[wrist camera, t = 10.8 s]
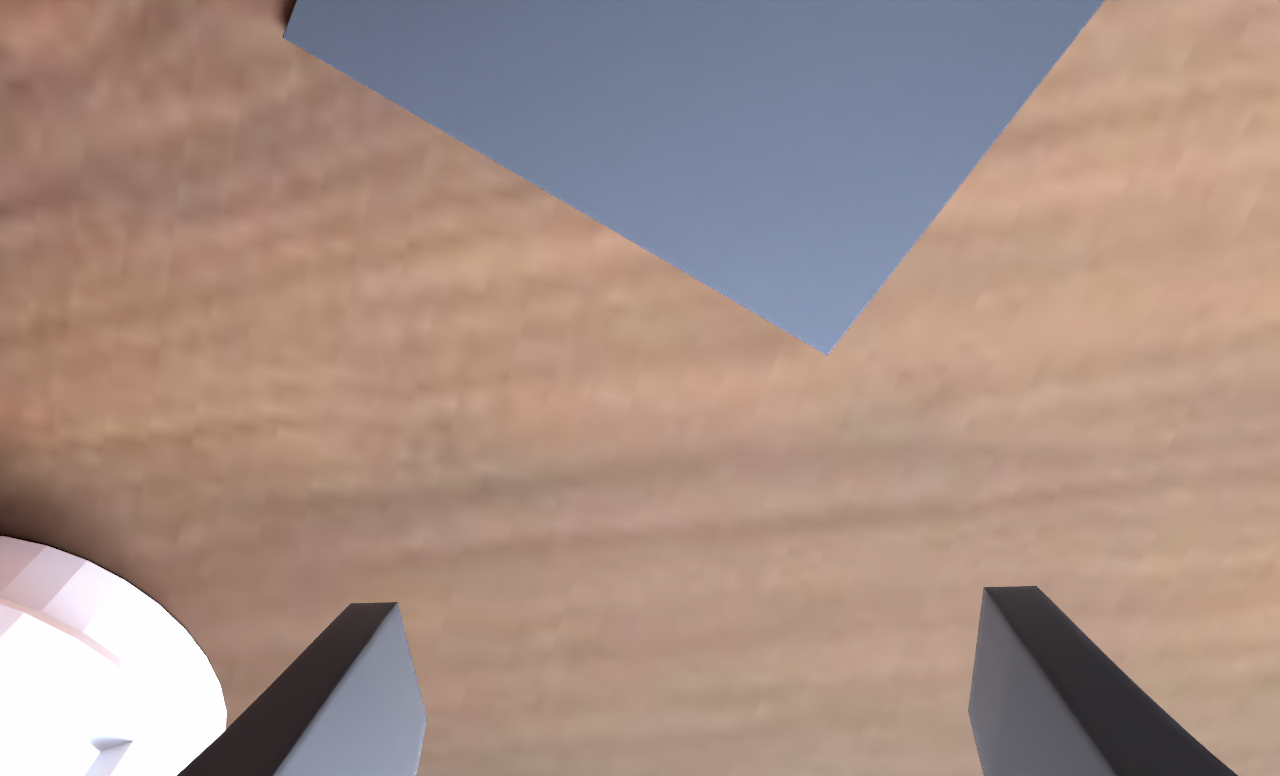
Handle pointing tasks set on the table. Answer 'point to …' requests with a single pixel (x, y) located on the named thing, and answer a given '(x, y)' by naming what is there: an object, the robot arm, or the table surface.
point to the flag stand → (95, 673)
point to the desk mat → (721, 119)
